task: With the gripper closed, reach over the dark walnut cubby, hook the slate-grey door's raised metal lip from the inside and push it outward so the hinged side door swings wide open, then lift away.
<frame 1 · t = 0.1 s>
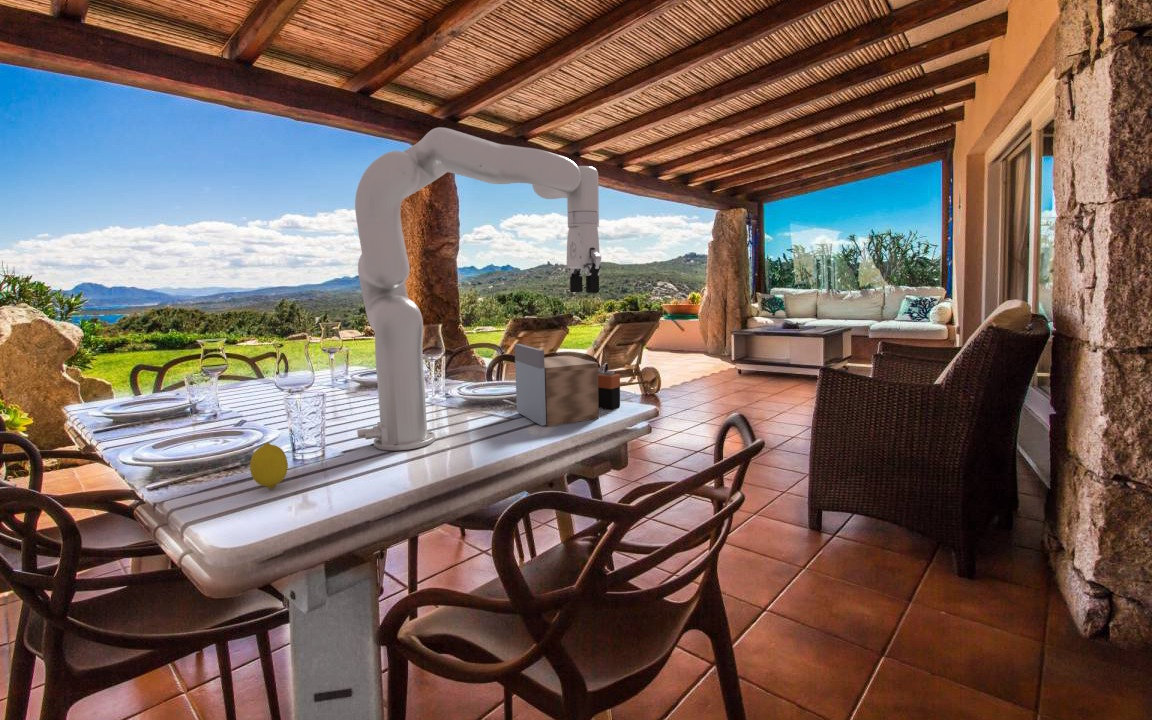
hand: (584, 292, 135), 31 cm above the table, fingers open, 9 cm apart
battery: (605, 407, 149), on the table
door: (529, 382, 135), point 9 cm above the table, hinge at 0.0°
lemon: (271, 489, 94), on the table
cubby: (559, 415, 140), on the table
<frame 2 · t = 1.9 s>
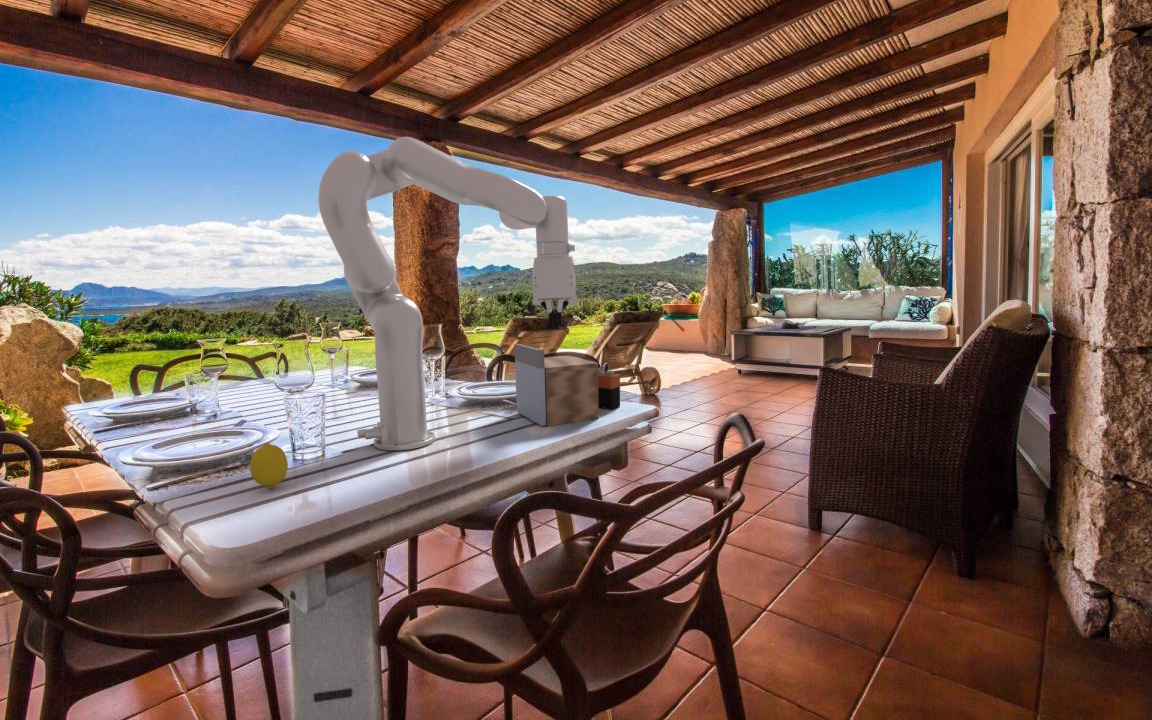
hand: (555, 328, 132), 23 cm above the table, fingers closed
nothing on the table moved.
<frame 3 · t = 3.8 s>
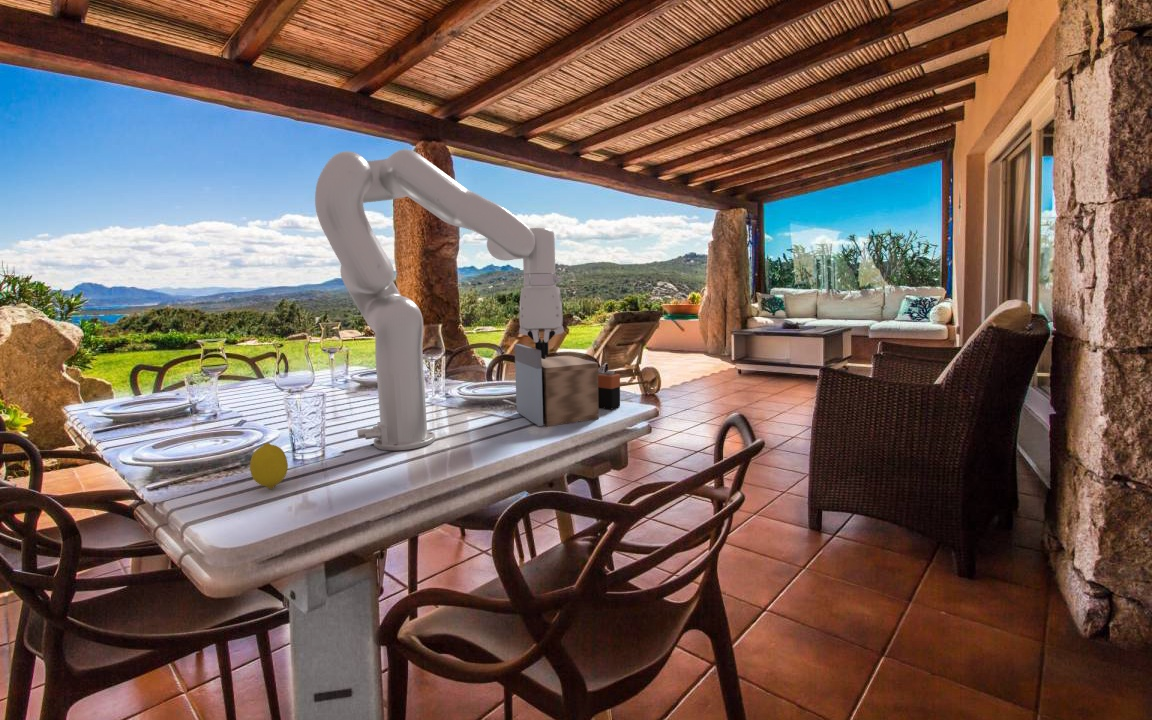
hand: (542, 358, 133), 16 cm above the table, fingers closed
door: (528, 383, 135), point 9 cm above the table, hinge at 2.6°, touching gripper
everything else where it was.
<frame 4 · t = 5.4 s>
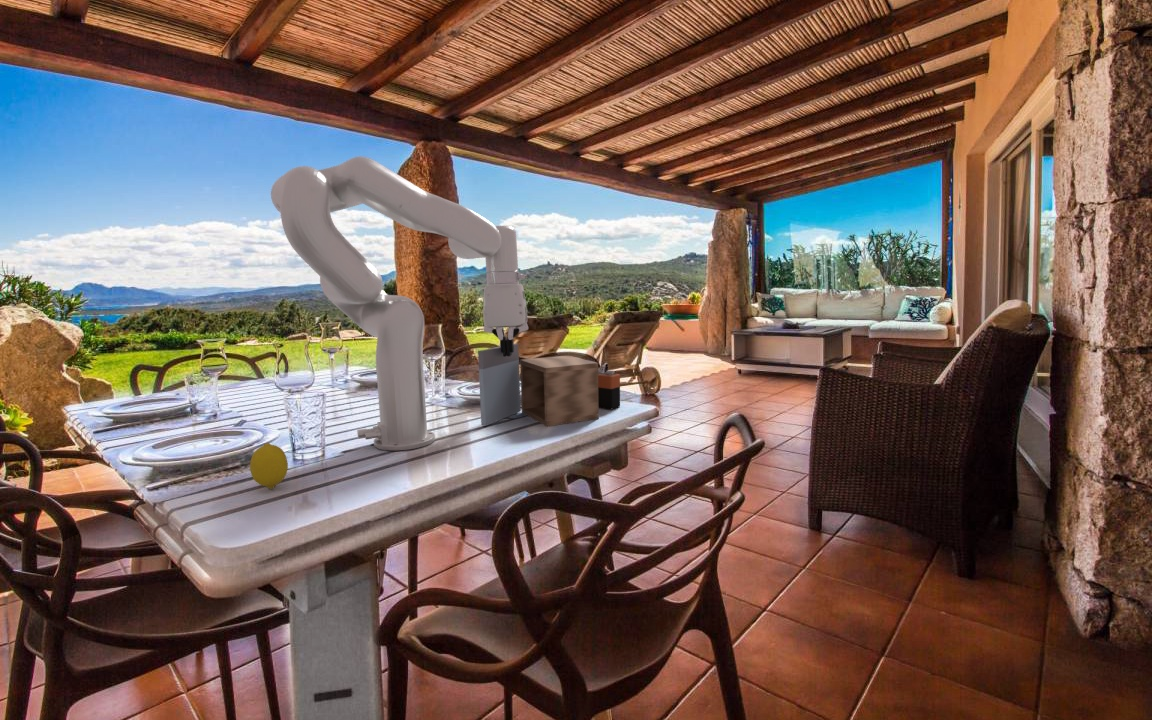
hand: (507, 355, 133), 16 cm above the table, fingers closed
door: (500, 382, 136), point 9 cm above the table, hinge at 53.2°, touching gripper
everything else where it was.
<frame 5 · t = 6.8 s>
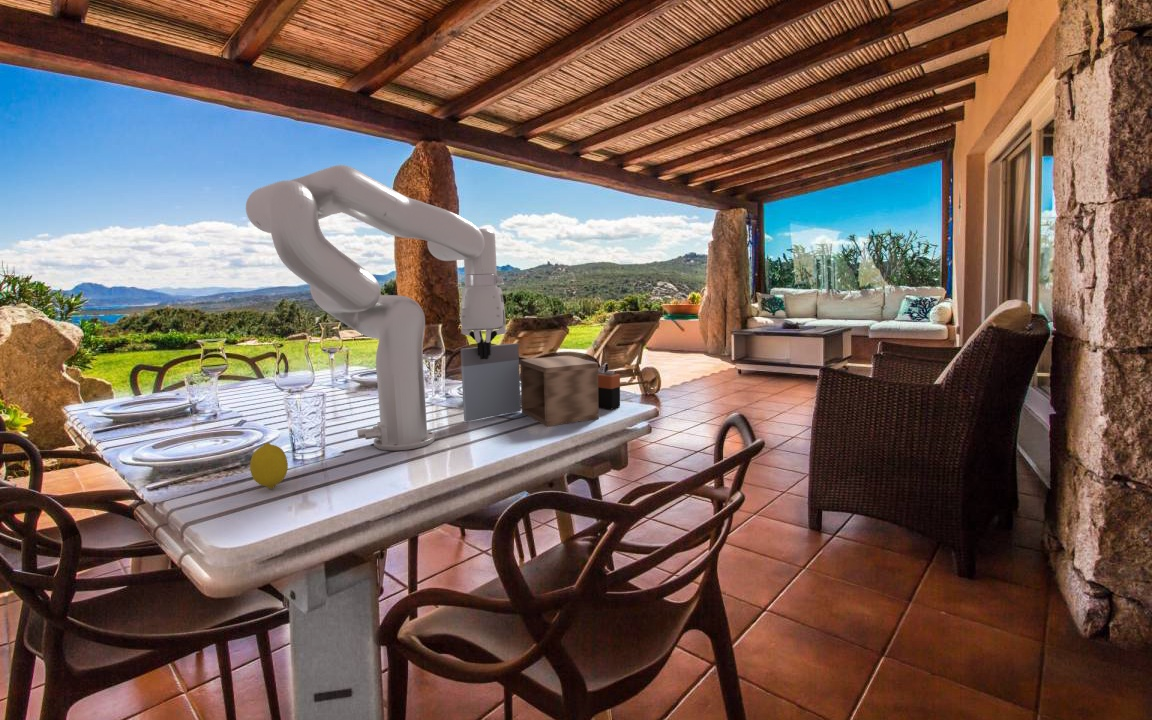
hand: (484, 358, 133), 16 cm above the table, fingers closed
door: (491, 381, 138), point 9 cm above the table, hinge at 78.6°, touching gripper
everything else where it was.
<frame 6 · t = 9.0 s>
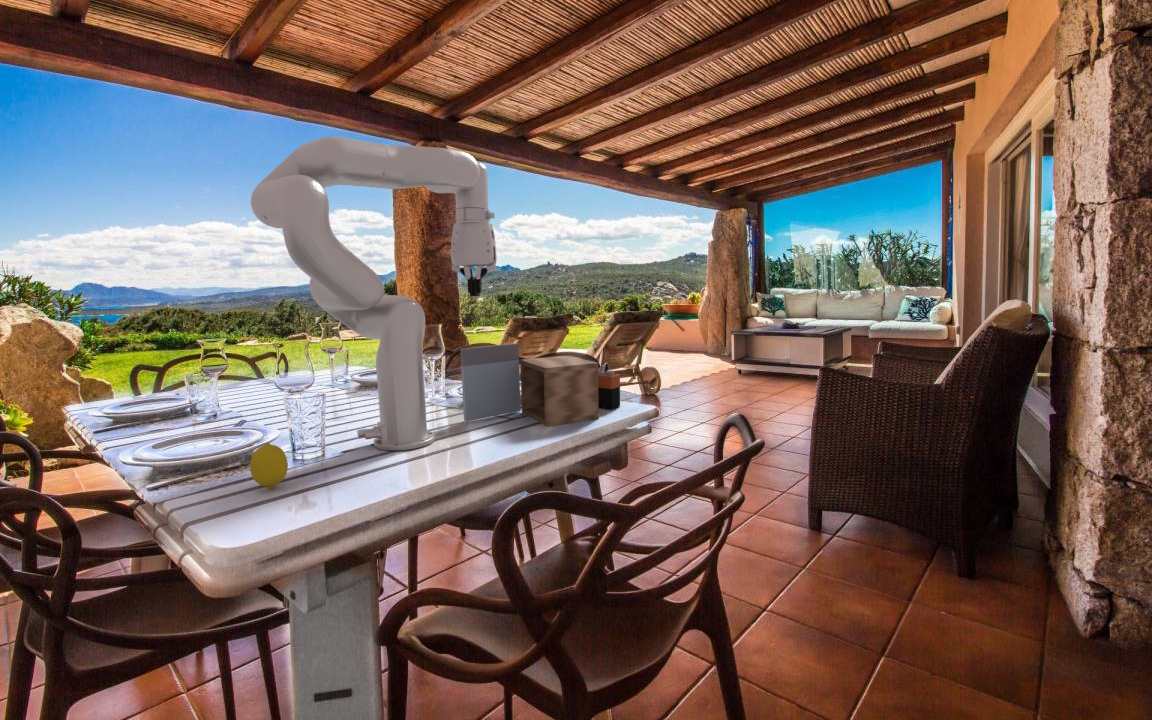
hand: (475, 296, 132), 31 cm above the table, fingers closed
door: (491, 381, 138), point 9 cm above the table, hinge at 78.8°
everything else where it was.
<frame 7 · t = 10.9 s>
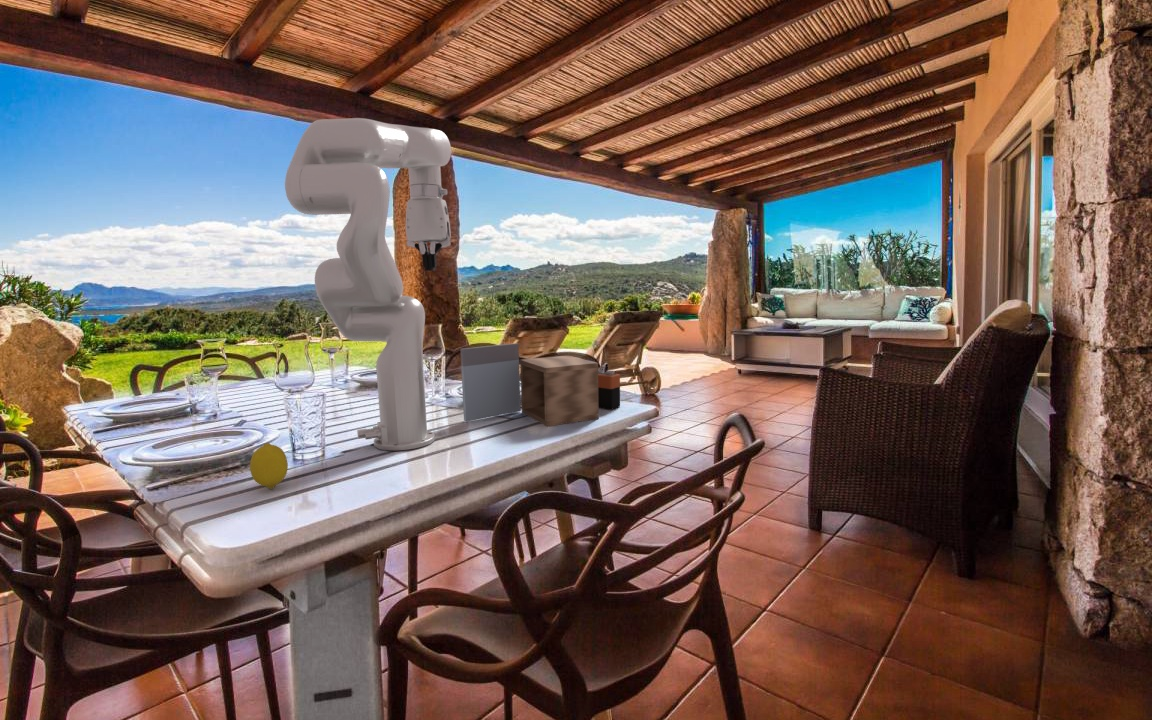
hand: (430, 270, 137), 37 cm above the table, fingers closed
nothing on the table moved.
at the end: door at +79° (first picture: +0°); battery moved 0.2 cm from its start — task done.
